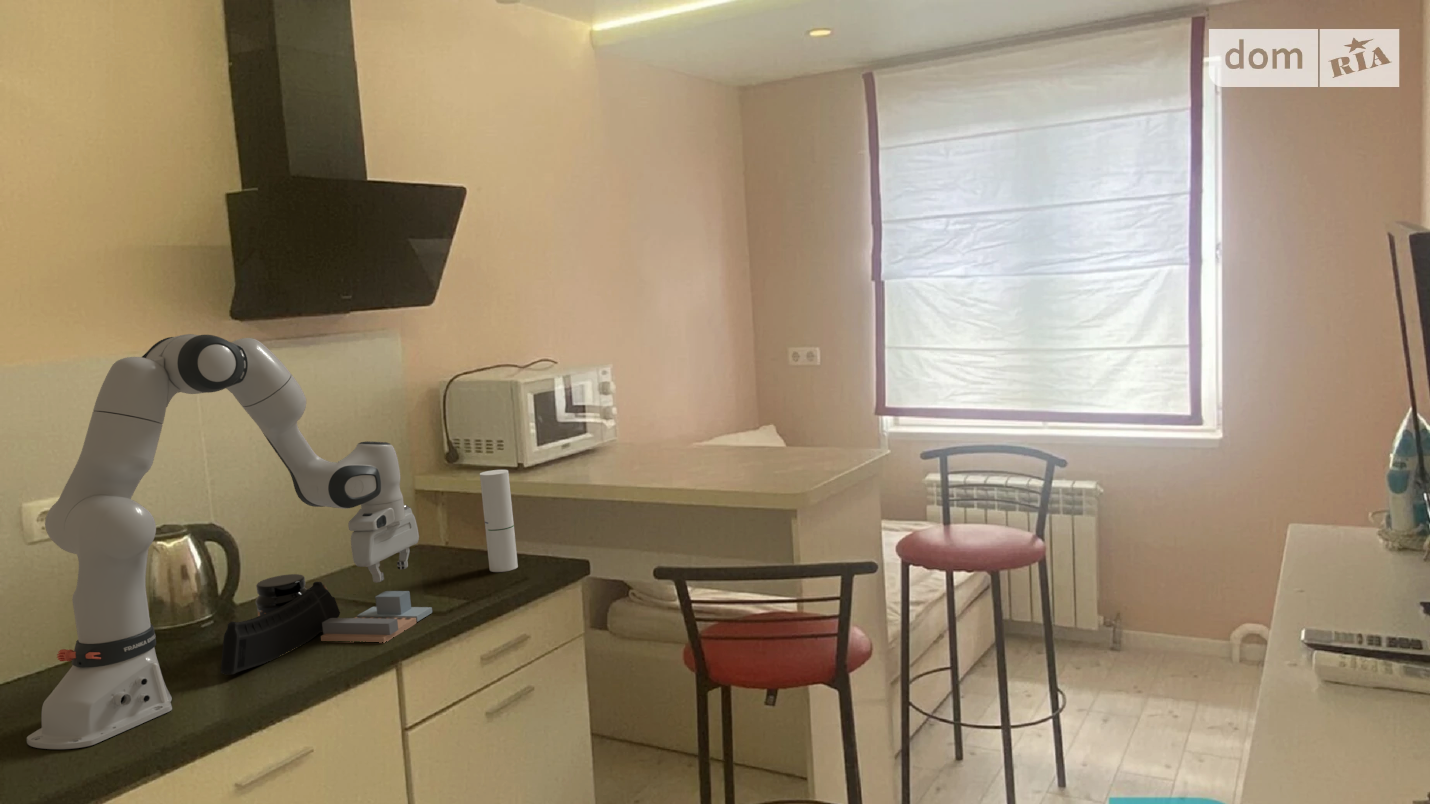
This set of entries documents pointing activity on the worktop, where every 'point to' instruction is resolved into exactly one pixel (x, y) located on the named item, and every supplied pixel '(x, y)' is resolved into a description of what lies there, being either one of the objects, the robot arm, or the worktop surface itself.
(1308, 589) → the worktop surface
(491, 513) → the cylindrical container
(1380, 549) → the worktop surface
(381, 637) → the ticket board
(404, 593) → the grey plate with knob
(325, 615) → the magazine
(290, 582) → the supplement container
